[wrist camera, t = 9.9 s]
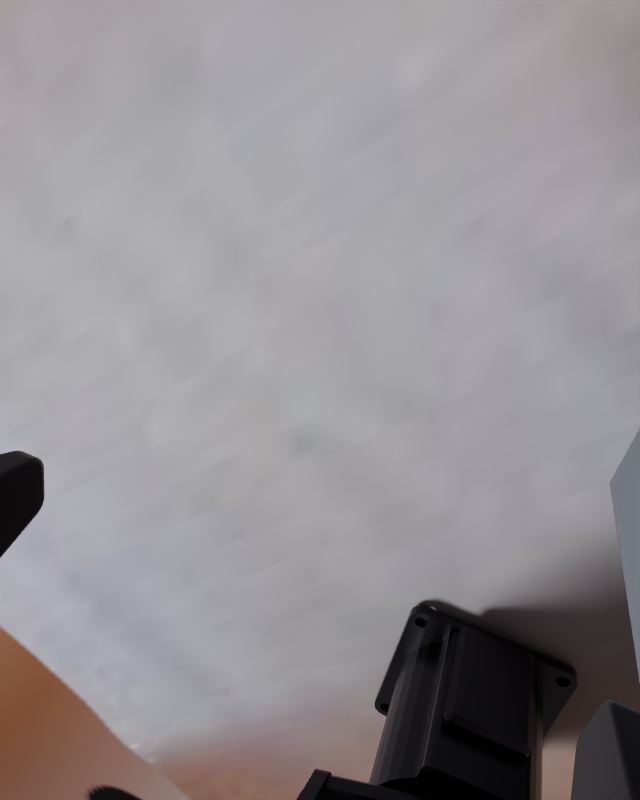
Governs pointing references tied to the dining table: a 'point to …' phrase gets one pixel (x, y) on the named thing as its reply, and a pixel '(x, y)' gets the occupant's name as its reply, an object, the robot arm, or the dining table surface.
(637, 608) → the cabinet
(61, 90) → the dining table surface
